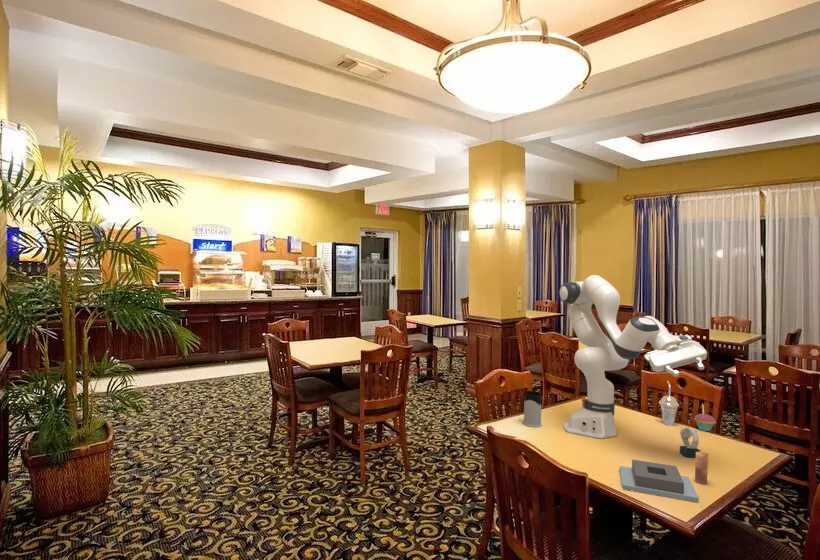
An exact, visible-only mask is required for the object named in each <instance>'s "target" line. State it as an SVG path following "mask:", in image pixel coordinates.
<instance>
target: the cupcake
mask: <svg viewBox="0 0 820 560" xmlns="http://www.w3.org/2000/svg"><path fill="white" fill-rule="evenodd" d="M701 410H702V411H701V412H702V413H698V414H696V415H695V416H694V419H693V421H695V423H696V426H697V428H698V430H700V431H704V432H710V431H711V430H712V427H713V426H714V425H716V424H717V421H716V418H715V417H713V416H712V415H711V414H710V415H709V414H706V413H705V406H704V403H703V402H702V403H701Z"/></svg>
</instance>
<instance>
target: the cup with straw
mask: <svg viewBox="0 0 820 560" xmlns="http://www.w3.org/2000/svg"><path fill="white" fill-rule="evenodd" d="M666 382H667V385H668V395H665V396H662V397H661V399H660V400H658V401H659V402H658V404H659V405H660V409H661V418H662V419H661V420H662V425H665V426H667V427H673V426H674V424H675V419H676V413H677V410H678V407H680V403H678V401H677V399H676V398H675V397H674V396H672V395H671V383H670V382H669V380H666Z"/></svg>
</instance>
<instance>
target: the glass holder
mask: <svg viewBox="0 0 820 560" xmlns="http://www.w3.org/2000/svg"><path fill="white" fill-rule="evenodd" d="M523 403H524V405H523V422H522V425H523V426H524V427H527V428H533V429H534V428H535V429H536V428H538V429H539V428H541V427H543V424H542V393H541V392H540V391H534V390H533V391H532V390H527V391H524V402H523Z"/></svg>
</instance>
